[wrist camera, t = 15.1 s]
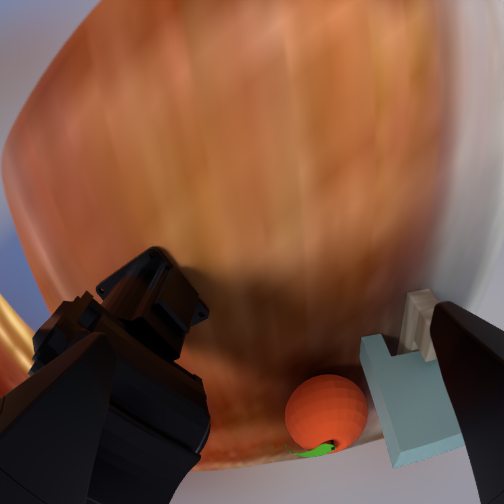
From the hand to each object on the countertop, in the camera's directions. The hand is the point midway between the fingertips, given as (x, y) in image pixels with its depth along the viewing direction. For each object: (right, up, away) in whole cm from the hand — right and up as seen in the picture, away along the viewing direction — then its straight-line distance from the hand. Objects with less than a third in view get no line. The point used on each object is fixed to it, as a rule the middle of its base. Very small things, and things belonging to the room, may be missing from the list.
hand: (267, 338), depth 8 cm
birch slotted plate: (+13, -5, +17) cm, 22 cm away
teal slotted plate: (+13, -5, +17) cm, 22 cm away
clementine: (+5, -10, +19) cm, 22 cm away
